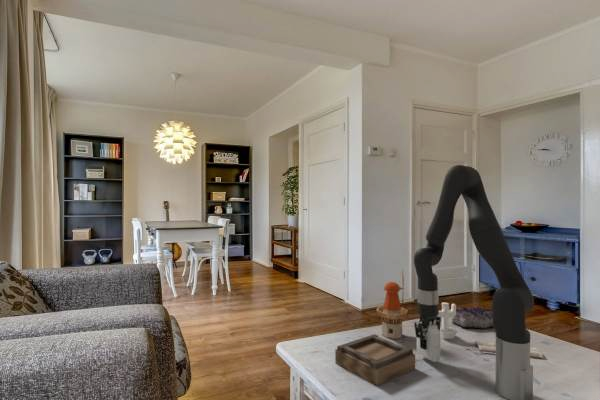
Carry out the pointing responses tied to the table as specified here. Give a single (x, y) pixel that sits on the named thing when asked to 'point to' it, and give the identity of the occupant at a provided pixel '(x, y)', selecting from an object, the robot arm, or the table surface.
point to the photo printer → (431, 344)
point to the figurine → (447, 321)
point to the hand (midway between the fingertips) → (428, 346)
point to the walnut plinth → (376, 355)
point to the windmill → (392, 311)
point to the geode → (473, 318)
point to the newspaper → (492, 348)
